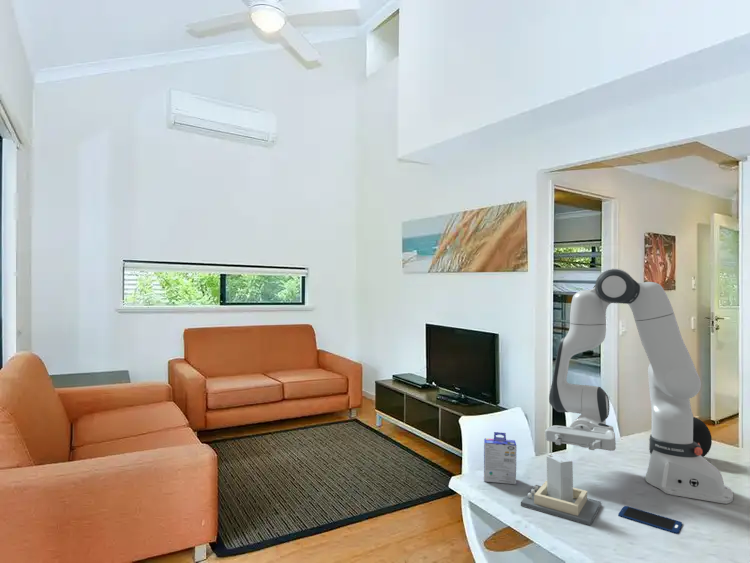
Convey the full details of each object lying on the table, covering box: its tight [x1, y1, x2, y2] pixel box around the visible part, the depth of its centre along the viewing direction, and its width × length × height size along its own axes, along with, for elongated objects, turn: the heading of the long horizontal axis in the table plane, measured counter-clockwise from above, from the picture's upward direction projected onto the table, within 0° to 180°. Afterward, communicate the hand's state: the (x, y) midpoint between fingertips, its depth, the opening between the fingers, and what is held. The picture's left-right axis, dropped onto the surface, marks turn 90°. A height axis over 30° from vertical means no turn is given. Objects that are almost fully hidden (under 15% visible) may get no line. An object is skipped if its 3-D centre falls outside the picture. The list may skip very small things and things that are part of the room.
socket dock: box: [520, 480, 602, 526], centre depth 132 cm, size 18×14×4 cm
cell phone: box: [618, 505, 683, 535], centre depth 124 cm, size 7×14×1 cm, turn 49°
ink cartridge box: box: [483, 431, 517, 485], centre depth 148 cm, size 10×6×14 cm, turn 78°
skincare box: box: [546, 453, 574, 503], centre depth 132 cm, size 6×4×12 cm
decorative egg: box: [693, 416, 713, 458], centre depth 169 cm, size 12×12×15 cm
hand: (574, 444), depth 140 cm, fingers open, 8 cm apart
